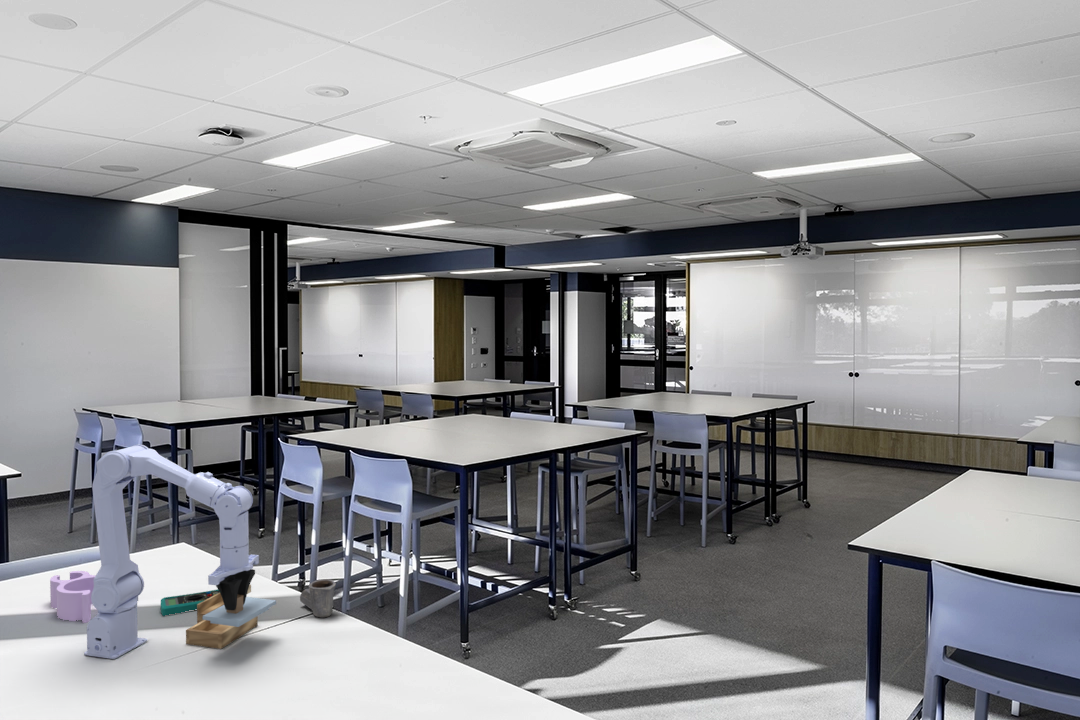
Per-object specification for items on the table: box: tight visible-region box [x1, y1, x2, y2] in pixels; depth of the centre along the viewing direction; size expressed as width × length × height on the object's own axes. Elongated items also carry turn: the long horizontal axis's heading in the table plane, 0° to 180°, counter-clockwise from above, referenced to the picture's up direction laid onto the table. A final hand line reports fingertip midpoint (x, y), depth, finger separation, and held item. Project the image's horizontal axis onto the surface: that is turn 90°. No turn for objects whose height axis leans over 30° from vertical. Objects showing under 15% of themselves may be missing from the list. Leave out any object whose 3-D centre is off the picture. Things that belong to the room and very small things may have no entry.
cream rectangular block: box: [247, 584, 252, 595], centre depth 181 cm, size 5×2×2 cm, turn 166°
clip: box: [49, 570, 96, 624], centre depth 182 cm, size 20×12×7 cm, turn 56°
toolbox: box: [185, 593, 259, 650], centre depth 172 cm, size 22×11×6 cm, turn 166°
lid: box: [203, 594, 277, 627], centre depth 161 cm, size 13×9×5 cm
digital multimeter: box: [160, 588, 220, 617], centre depth 185 cm, size 7×15×3 cm, turn 120°
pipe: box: [299, 578, 337, 619], centre depth 182 cm, size 6×13×8 cm, turn 46°
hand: (235, 606), depth 159 cm, fingers closed on lid, 2 cm apart
